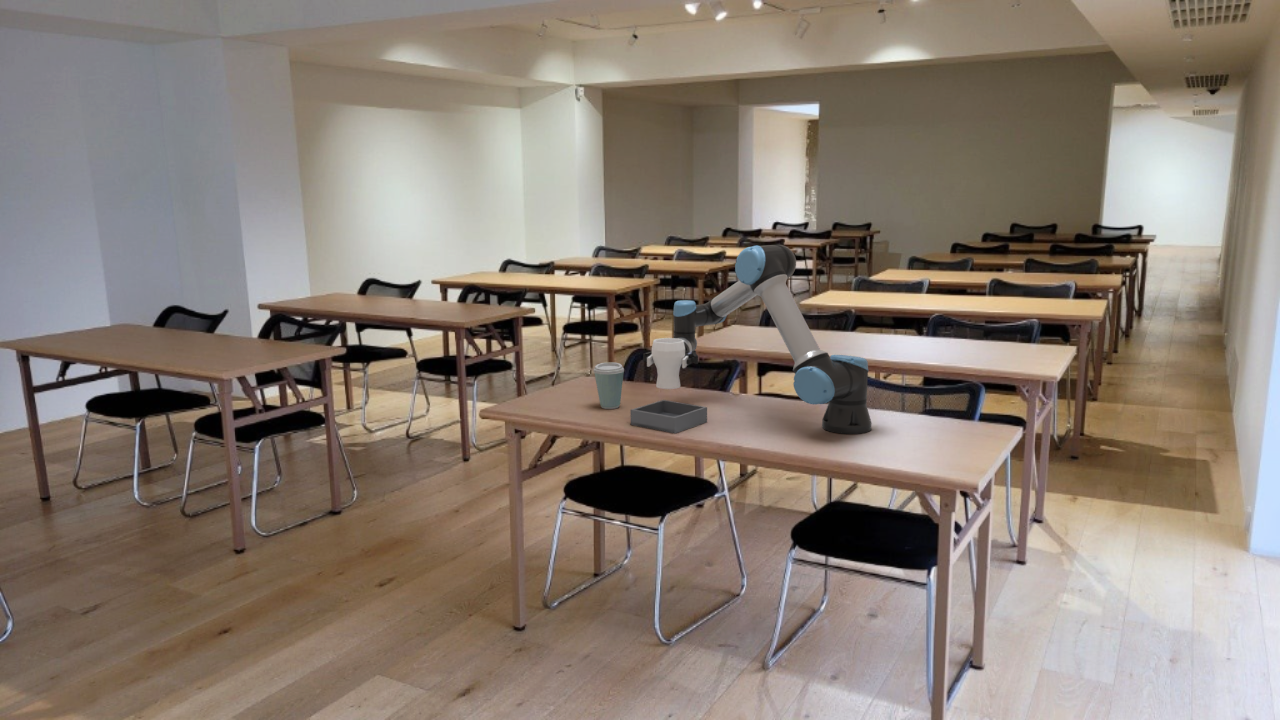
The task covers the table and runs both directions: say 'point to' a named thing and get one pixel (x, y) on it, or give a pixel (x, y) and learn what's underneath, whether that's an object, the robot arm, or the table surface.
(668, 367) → the white ceramic vase
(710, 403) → the table surface
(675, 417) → the bin
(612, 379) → the disposable coffee cup
